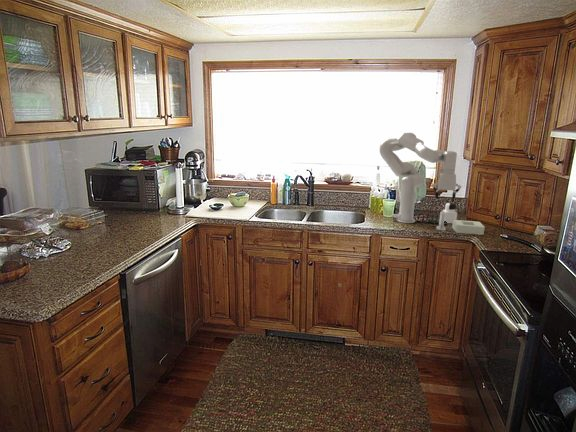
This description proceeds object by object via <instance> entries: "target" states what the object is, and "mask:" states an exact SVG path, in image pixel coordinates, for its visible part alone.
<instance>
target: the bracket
mask: <svg viewBox="0 0 576 432" xmlns="http://www.w3.org/2000/svg"><path fill="white" fill-rule="evenodd" d="M444 221H445V212H444V211H443V210H441V211H440V213H439V221H438V225H436V230H437V231H446V230H447V228H446V227H445V223H444Z"/></svg>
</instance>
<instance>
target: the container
mask: <svg viewBox="0 0 576 432" xmlns="http://www.w3.org/2000/svg"><path fill="white" fill-rule="evenodd" d="M456 207H457V204H456V203H454V202H453V203H452V202H447V203H445V207H444V209H442V211H444V212H445V221H446V222H447V223H446V224H453V220H458V212H457V211H456V210H457V209H456Z"/></svg>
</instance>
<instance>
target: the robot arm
mask: <svg viewBox="0 0 576 432" xmlns="http://www.w3.org/2000/svg"><path fill="white" fill-rule="evenodd" d="M402 149H408V150H410V151H412V152H413V153H415V154H416V155H417V156H418V157H420V158H421V159H422V160H425V161H427V162H429V163H431V164H435V163H442V165H441V166H442V167H441V168H440V169H439V170H438V172H439V176H438V177H439V178H438V180H437V182H434V183H433V184H431V187H432V188H433V190H434V192H435V195H434V197H435V198H436V199H439V191H440V190H441V191H453V192H452V194H451V199H452V201H453V200H455V199H456V195H457V193H459V191H460V189H462V186H461V185H459V184H458V183H457V174H456V172H455V170H456V164H457V156H458V153H457V152H456V151H453V150H452V151H450V150H449V151H448V150H443V149H435V150H434V149H431V148H429V147H427V146H425V143H424V140H423V139H420V138H418V137H417V136H416V134H414V133H413V132H403V133H401V134H399V136H398V137H396V138H387V139H383V140H382V141H381V143H380V145H379V154H380V156H381V158H382V159H383V160H384V162H385V163H386V164H387V165H388V167H389V168H390V169H391V171H392V173H393V174H394V175H395V176H396V177H402V178H401V181H400V199H399V200H400V201H399V210H398V211H399V212H398V213H397V214H395V213H392V214H391V218H395V220H396V222H399V223H403V224H404V223H405V224H412V223H415V222H416V219H414V213H415V205H416V203H415V202H416V189H417V188H420V187H421V186H422V185H423V183H424V180H423V179H424V178H423V177H422V174H420V172H419V171H418V170H417V168H416V167H415V166H414V164H412V163H411V162H408V161H402V160H401V158H399V156H398V155H397V154H396V153H395V152H396V151H400V150H402ZM436 186H437V188H436ZM456 187H457V188H456Z"/></svg>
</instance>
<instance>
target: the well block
mask: <svg viewBox="0 0 576 432" xmlns="http://www.w3.org/2000/svg"><path fill="white" fill-rule="evenodd" d="M451 227H452V229H453V231H454V232H455V234H465V235H466V234H467V235H477V236H478V235H479V236H483V235H485V229H486V227H485V226H484V224H482V222H480V221H474V220H473V221H472V220H461V219H460V220H459V219H457V220H453V223H452V226H451Z"/></svg>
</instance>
